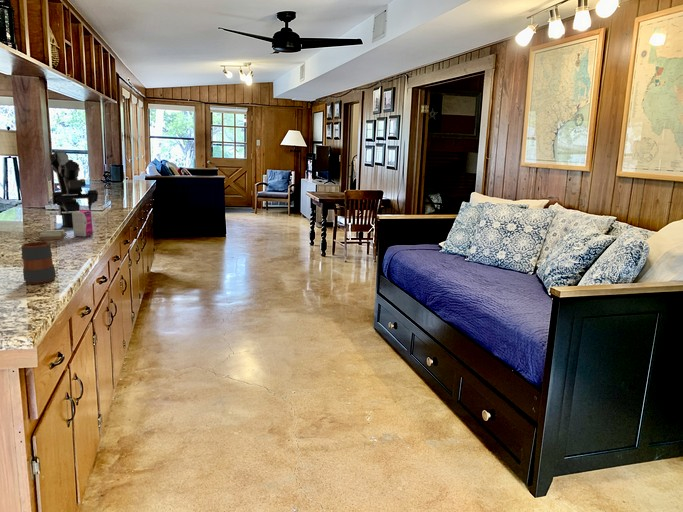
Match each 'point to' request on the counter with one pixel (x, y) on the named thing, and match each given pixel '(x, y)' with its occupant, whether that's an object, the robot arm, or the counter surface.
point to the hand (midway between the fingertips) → (79, 210)
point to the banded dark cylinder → (37, 263)
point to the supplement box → (82, 223)
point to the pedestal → (52, 234)
